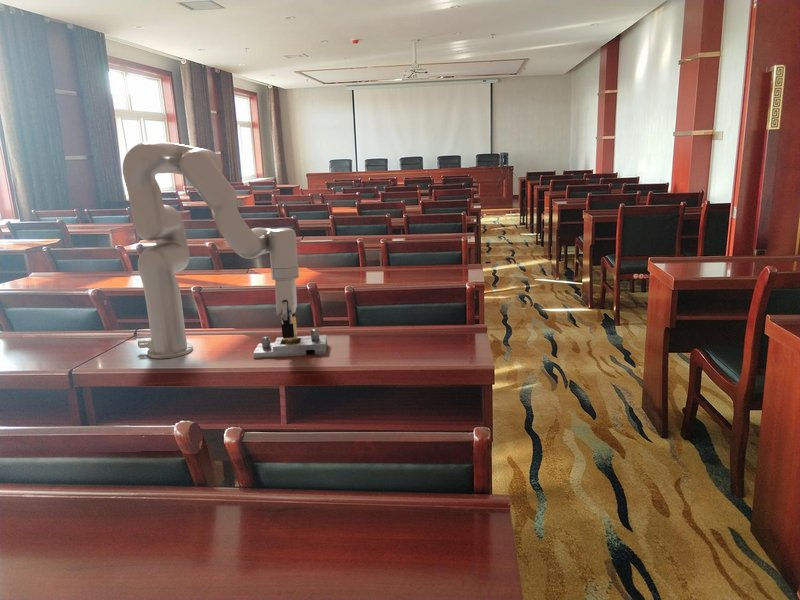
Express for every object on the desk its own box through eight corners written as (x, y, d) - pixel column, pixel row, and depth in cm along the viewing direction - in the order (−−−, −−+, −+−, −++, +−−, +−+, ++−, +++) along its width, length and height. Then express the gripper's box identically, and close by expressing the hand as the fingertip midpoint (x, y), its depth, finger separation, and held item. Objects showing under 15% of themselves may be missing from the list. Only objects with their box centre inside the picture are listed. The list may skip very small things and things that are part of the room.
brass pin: (283, 353, 171) (280, 319, 169) (285, 349, 175) (282, 316, 173) (297, 353, 171) (295, 319, 169) (299, 348, 175) (296, 315, 173)
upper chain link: (273, 357, 169) (271, 336, 167) (277, 347, 177) (276, 327, 176) (325, 354, 169) (324, 333, 168) (327, 344, 178) (325, 325, 177)
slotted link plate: (253, 358, 168) (252, 342, 167) (259, 348, 177) (257, 333, 176) (306, 355, 169) (304, 339, 168) (308, 345, 178) (307, 330, 177)
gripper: (275, 268, 176) (280, 325, 180) (266, 279, 159) (272, 342, 163) (301, 266, 177) (305, 324, 181) (295, 278, 160) (300, 341, 164)
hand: (290, 332), depth 172 cm, fingers open, 8 cm apart
